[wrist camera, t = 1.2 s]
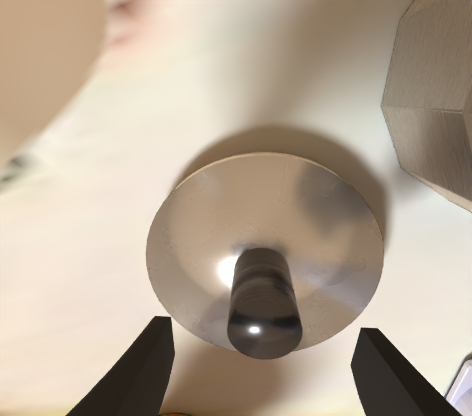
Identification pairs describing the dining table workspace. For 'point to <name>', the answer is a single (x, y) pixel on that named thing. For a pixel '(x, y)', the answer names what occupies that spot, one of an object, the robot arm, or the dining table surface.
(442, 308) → the dining table surface
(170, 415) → the disposable coffee cup
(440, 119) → the pot
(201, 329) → the lid
